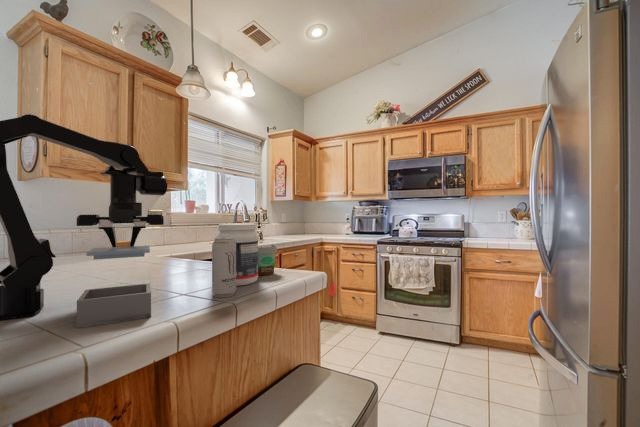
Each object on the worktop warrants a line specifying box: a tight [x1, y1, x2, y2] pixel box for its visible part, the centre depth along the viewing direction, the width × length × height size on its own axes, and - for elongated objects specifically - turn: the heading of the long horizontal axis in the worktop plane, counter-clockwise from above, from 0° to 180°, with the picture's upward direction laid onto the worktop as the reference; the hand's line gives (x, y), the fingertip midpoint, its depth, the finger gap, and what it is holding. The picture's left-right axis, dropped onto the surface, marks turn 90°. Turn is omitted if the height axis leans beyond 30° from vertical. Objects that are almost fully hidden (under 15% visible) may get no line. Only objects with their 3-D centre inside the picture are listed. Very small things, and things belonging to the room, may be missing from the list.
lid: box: [86, 240, 151, 260], centre depth 75 cm, size 12×14×3 cm
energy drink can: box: [211, 237, 237, 298], centre depth 79 cm, size 6×6×15 cm
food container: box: [258, 244, 278, 277], centre depth 106 cm, size 12×6×10 cm, turn 143°
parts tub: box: [76, 282, 152, 329], centre depth 63 cm, size 12×10×5 cm
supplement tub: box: [215, 222, 259, 287], centre depth 94 cm, size 13×13×18 cm
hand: (123, 252), depth 79 cm, fingers closed on lid, 3 cm apart
